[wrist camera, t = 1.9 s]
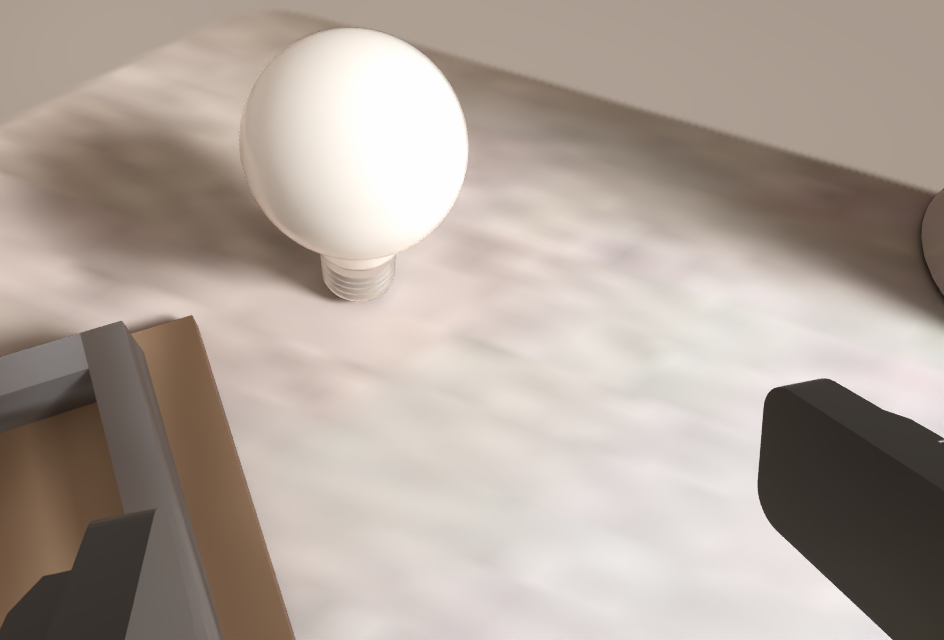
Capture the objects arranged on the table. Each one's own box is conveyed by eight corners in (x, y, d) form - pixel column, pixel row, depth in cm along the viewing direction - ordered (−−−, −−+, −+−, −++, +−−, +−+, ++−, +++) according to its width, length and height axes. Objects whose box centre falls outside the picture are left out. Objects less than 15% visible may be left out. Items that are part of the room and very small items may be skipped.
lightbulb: (240, 253, 28) (172, 26, 18) (383, 181, 30) (392, -56, 20) (329, 387, 26) (307, 217, 16) (474, 301, 28) (533, 105, 18)
